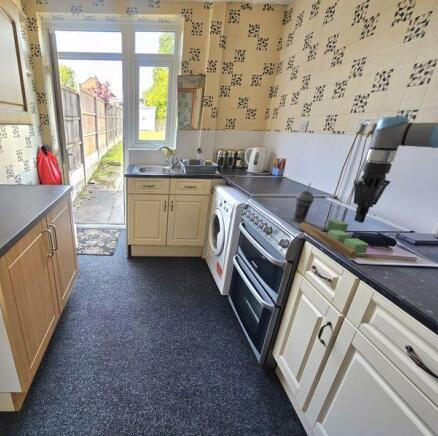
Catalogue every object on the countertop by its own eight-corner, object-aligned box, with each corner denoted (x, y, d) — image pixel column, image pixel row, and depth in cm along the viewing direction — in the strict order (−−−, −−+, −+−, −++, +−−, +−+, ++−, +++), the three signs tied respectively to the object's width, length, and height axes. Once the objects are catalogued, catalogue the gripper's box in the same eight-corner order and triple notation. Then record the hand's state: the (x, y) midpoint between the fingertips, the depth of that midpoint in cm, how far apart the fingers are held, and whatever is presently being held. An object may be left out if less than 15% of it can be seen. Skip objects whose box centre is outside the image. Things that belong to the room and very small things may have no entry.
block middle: (336, 240, 104) (340, 229, 102) (346, 246, 100) (350, 235, 98) (325, 240, 104) (329, 230, 102) (334, 246, 99) (338, 235, 97)
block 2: (353, 249, 97) (357, 238, 95) (364, 256, 92) (368, 244, 90) (341, 250, 96) (345, 238, 94) (351, 256, 92) (356, 244, 90)
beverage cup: (303, 219, 128) (314, 181, 120) (309, 224, 121) (321, 184, 114) (288, 217, 129) (298, 180, 122) (293, 222, 122) (304, 183, 115)
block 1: (336, 229, 115) (339, 219, 113) (344, 234, 111) (348, 224, 109) (326, 230, 115) (329, 220, 113) (334, 234, 110) (337, 224, 108)
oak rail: (303, 228, 116) (305, 222, 115) (354, 258, 90) (357, 251, 89) (299, 228, 116) (301, 222, 115) (349, 258, 90) (352, 251, 89)
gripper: (384, 160, 94) (364, 217, 103) (353, 160, 93) (336, 218, 102) (405, 163, 87) (382, 224, 96) (372, 163, 86) (351, 225, 95)
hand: (358, 221), depth 99 cm, fingers closed
